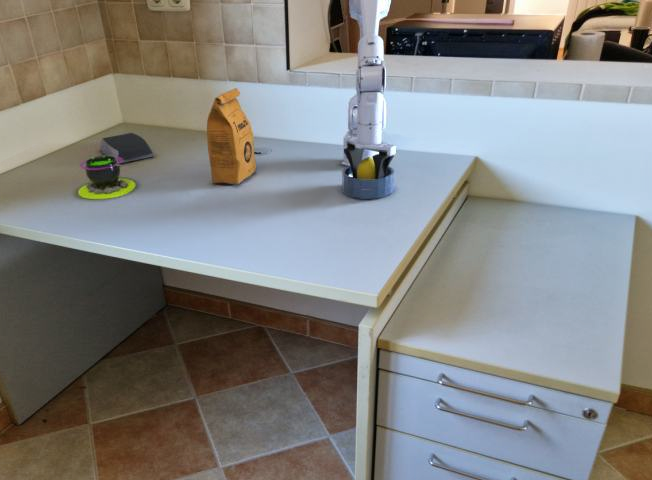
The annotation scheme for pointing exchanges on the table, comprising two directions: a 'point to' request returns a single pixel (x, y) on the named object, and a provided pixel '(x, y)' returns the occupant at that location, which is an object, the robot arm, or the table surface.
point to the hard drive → (126, 147)
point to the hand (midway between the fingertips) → (367, 179)
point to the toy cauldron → (104, 178)
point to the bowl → (367, 185)
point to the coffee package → (229, 140)
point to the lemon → (366, 169)
